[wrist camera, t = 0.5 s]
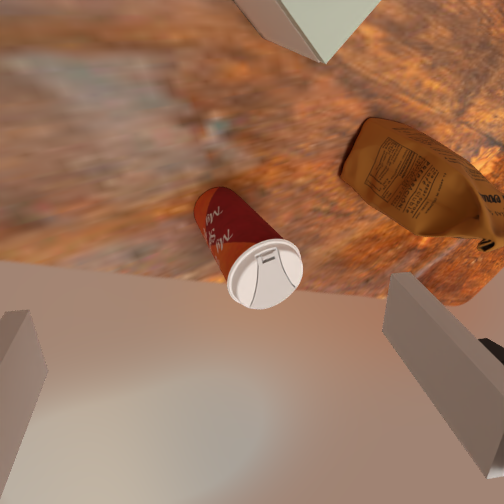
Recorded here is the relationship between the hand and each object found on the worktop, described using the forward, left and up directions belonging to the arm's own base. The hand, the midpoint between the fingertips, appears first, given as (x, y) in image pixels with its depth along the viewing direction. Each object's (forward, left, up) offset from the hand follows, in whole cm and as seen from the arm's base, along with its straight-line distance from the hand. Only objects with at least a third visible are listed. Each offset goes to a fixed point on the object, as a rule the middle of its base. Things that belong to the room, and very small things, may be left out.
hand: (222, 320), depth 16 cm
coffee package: (+31, +16, -29) cm, 46 cm away
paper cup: (+17, -2, -29) cm, 34 cm away
